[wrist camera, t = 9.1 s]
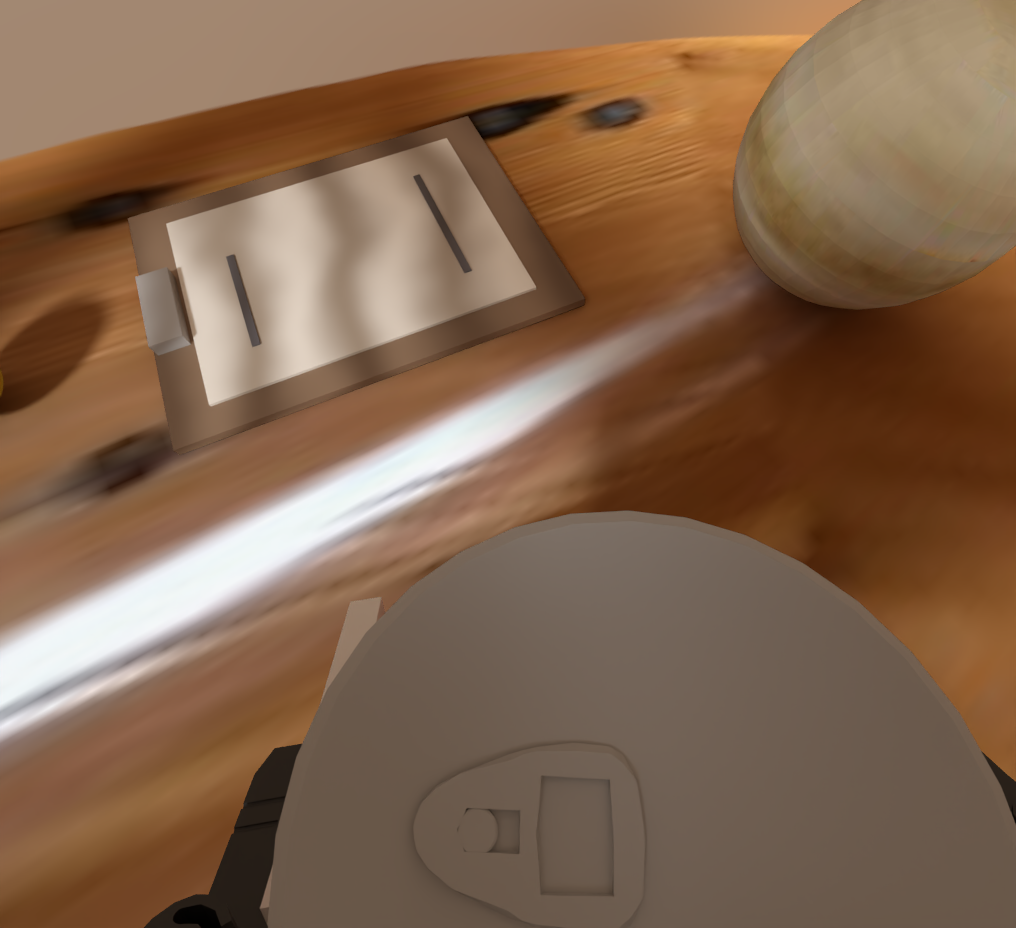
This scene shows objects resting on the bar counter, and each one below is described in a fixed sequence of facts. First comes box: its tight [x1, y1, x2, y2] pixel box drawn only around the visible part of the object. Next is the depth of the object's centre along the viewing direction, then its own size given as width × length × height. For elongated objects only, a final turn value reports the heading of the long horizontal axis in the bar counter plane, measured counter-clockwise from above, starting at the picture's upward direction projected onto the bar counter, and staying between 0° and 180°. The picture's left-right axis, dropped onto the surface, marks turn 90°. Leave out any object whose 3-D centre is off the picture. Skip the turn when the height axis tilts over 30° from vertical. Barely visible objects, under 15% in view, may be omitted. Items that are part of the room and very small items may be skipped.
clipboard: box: [128, 116, 585, 455], centre depth 35 cm, size 26×20×2 cm
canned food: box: [268, 511, 1016, 928], centre depth 10 cm, size 8×8×11 cm
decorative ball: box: [733, 0, 1016, 310], centre depth 28 cm, size 15×15×15 cm
